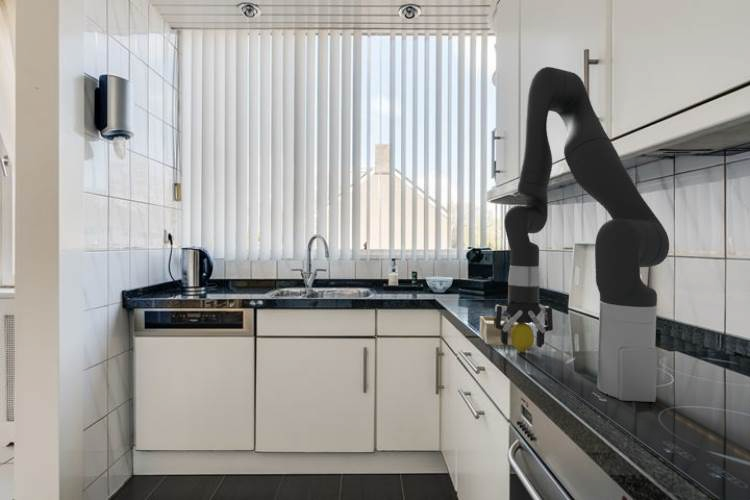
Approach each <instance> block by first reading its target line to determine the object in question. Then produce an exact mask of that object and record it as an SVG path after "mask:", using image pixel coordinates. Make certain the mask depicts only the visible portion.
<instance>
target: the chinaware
mask: <svg viewBox="0 0 750 500" xmlns="http://www.w3.org/2000/svg"><path fill="white" fill-rule="evenodd" d="M425 280H426V283H427V284H426V285H428V287H429V288H430V289H431V290H432V292H434V293H445V292H446V290H449V288H450V287H451V286H452V283H453V280H454V278H453V277H450V276H449V277H447V276H426V277H425Z"/></svg>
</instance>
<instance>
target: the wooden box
mask: <svg viewBox="0 0 750 500" xmlns="http://www.w3.org/2000/svg"><path fill="white" fill-rule="evenodd" d="M507 317H508V316H501V325H502V324H503V323H504V322H505V320H506V318H507ZM517 324H519V323H517V322H515V323H514V324H513V325H512V326H510V328H509V329H508V330H507V332H508V346H514V345H513V344H512V341H511V333H512V329H513V328H514V326H515V325H517ZM525 324H527V323H525ZM479 336H480V338H481V339H482V340H483V342H484V343H485V345H494V346H495V345H500V346H502V345H503V343H502V342H501V330H500V329H497V328H496V327H495V326H494V316H488V315H487V316H485V315H484V316H482V315H480V316H479ZM503 346H504V345H503Z"/></svg>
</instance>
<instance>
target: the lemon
mask: <svg viewBox="0 0 750 500" xmlns="http://www.w3.org/2000/svg"><path fill="white" fill-rule="evenodd" d="M511 341H512V344H513V345H512V346H513V347H514V348H515V349H517V350H518V351H519V352H520V353H524V352H525V351H527V350H529V349H531V348H532V346H533V345H534V341H535V335H534V331H533V329H532V327H531V326H530V325H529V323H526V324H525V323H524V322H523V323H519V324H517V325H515V326H514V328H513V329H512V333H511Z"/></svg>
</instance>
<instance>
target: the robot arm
mask: <svg viewBox="0 0 750 500" xmlns="http://www.w3.org/2000/svg"><path fill="white" fill-rule="evenodd" d="M526 101H527V102H526V117H525V139H524V140H525V141H524V142H525V143H524V152H523V159H522V166H521V169H520V174H519V178H518V183H517V184H518V185H517V192H518V194H519V195H522V196H524V197H525V205H522V204H521V205H520V204H516V205H513V206H511V207H510V208H509V209H508V210H507V212H506V213H505V215H504V229H505V234H506V238H507V243H508V246H509V250H510V251H509V252H510V253H509V255H510V256H509V271H508V279H507V282H508V283H507V287H508V289H507V290H508V291H507V304H506V305H500V304H495V305H494V314H493V315H494V316H493V317H494V326H495V327H496V328H497V329H500V330H501V342H502V343H503V346H504V347H508V346H509V345H508V332H507V330H508V329H509V328H510V326H512V325H513V324H514V323H515V322H517V323H523V322H524V323H526V324H531V323H532V324H533V326H535V328H536V329H537V330H536V341H535V343H536V347H538V348H542V347H543V345H544V344H545V333H546V332H549V331H550V332H551V331H553V329H554V328H553V327H554V324H553V308H552V307H550V306H549V305H545V306H540V285H541V284H540V283H541V282H540V280H541V279H540V278H541V277H540V276H541V275H540V273H541V272H540V248H539V245H538V244H536V243H535V242H534V243H533V242H531V239H530V236H529V234H537V233H540V232H541V231H542V230H543V229H544V228H545V226H546V224H547V221H548V217H549V216H548V213H549V211H548V188H549V183H550V179H551V175H552V170H553V169H552V168H553V154H552V150H551V147H550V141H549V137H548V129H547V127H548V126H547V123H548V115H549V112H555V114H557V115H558V116H559V117H560V118H561V120H562V121H563V124H564V126H565V127H566V132H567V133H566V135H567V136H566V137H565V142H564V147H563V156H564V159H565V161H566V164H567V167H568V169H569V170H570V173H571V175H572V177H573V178H574V180H575V182H576V183H577V184H578V186H579V187H581V188H582V189H583V190H584V191H585V192H586V193H587V194H588V195H589V196H590V197H592V198H593V199H594V200H595V201H597V203H598V204H600V205H601V206H602V207H603V208H604V210H606V211H607V213H608V214H609V216H610V218H611V219H609V220H608V221H606V222H604V223H603V224H602V225H601V226H600V227H599V230H598V231H597V234H596V238H595V244H594V258H595V259H594V261H595V263H594V264H595V283H596V286H597V287H596V288H597V290H598V292H599V312H598V314H599V315H598V316H599V317H598V341H597V343H598V346H597V380H596V381H597V382H596V383H597V385H596V388H597V390H599V391H600V392H602V393H603V394H605V395H607V394H608V396H610V397H614V398H616V399H617V400H619V401H627V402H630V401H632V402H648V403H649V402H652V403H656V401H657V398H656V397H657V373H658V372H657V371H658V370H657V369H658V368H657V367H658V350H657V349H656V336H657V335H656V331H657V308H658V307H657V305H658V294H657V291H656V290H655V289H653V287H650V286H648V285H646V283H644V282H643V280H642V278H641V268H650V267H655V266H658V265H660V264H661V263H663V262H664V261H665V260H666V258H667V256H668V255H669V251H670V240H669V236H668V233H667V231H666V229H665V226H663V224H662V222H661V221H660V220H659V219H658V217H657V216H656V215H655V213H654V212H653V210H652V208H650V206H649V205H648V204H647V202H646V201H645V199H644V198H643V197H642V194H641V193H640V192H639V190H638V189H637V187H636V185H635V183H634V181H633V180H632V178H631V176H630V174H629V173H628V171H627V169H626V168H625V166H624V163H623V162H622V160H621V157H620V156H619V153H618V152H617V150H616V148H615V146H614V144H613V143H612V141H611V139H610V137H609V135H608V134H607V132H606V131H605V129H604V127H603V125H602V123H601V121H600V119H599V117H598V116H597V114H596V112H595V110H594V108H593V106H592V102H591V100H590V96H589V95H588V91H587V88H586V86H585V83H584V82H583V80H582V78H581V77H580V76H579V75H578V74H576V73H575V72H572V71H569V70H564V69H561V68H556V67H552V66H545V67H543V68H542V67H541V69H539V70H538V71H537V72H536V73H535V74H534V76H533V77H532V79H531V81H530V84H529V87H528V92H527V100H526ZM505 312H507V313H508V316H506V317H507V318H506V320H505V322H504V323H503V324H502V325H501V317H502V315H503V314H504V313H505ZM540 313H541V314H542V315H544V319H543V320H544V324H543V325H542V323H541V322H540V320H539V318H538V315H539V314H540Z"/></svg>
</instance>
